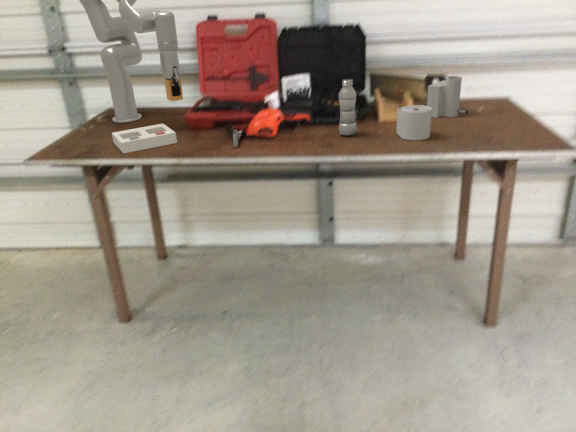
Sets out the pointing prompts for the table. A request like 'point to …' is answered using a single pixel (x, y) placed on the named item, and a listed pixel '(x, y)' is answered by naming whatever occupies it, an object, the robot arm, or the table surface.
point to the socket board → (144, 138)
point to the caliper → (236, 137)
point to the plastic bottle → (347, 108)
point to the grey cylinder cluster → (445, 97)
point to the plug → (169, 90)
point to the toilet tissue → (414, 122)
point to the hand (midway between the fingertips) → (174, 94)
